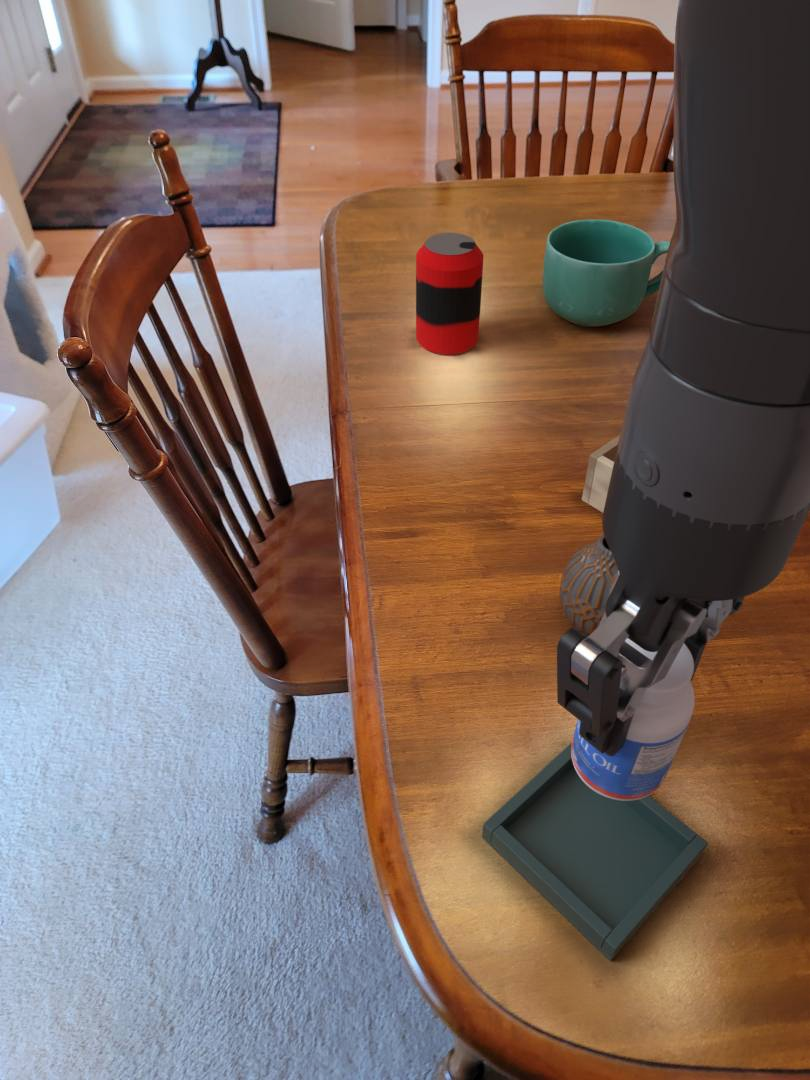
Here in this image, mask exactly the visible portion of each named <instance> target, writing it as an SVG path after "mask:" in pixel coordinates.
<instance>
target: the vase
mask: <svg viewBox="0 0 810 1080" xmlns="http://www.w3.org/2000/svg"><path fill="white" fill-rule="evenodd" d="M618 572H619V570H618V567H617V564H616V562H615V559H614V557H613V555H612V553H611V551H610V549H609V546H608V544H607V542H606V539H605V536H604V533H603V534H601V535H600V536H599V537H598V539H596V540H594V541H592V542H590V543H587V544H584V545H583V546H582V547H580V548H579V549H578V550H577V551H576V552H574V554H573V555H572V556H571V558H569V560H568V561H567V563H566V565H565V567H564V569H563V572H562V574H561V578H560V583H559V599H560V605H561V608H562V611H563V613H564V615H565V617H566V618H567V620H568V622H569V623H570V624H572V626H573V627H575V628H577V629H578V630H579V631H581V632H582V633H583V634H585V635H587V636H589V635H590V634H591V633H592V632H593V631H594V630H595V629H596V628H597V627H598V625H599V623H600V621H601V619H602V617H603V615H604V613H605V607H606V602H607V600H608V597H609V595H610V588H611V586H612V584H613V582H614V580H615V578H616V576H617V574H618Z"/></svg>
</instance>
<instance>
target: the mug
mask: <svg viewBox="0 0 810 1080" xmlns="http://www.w3.org/2000/svg"><path fill="white" fill-rule="evenodd" d="M670 241H671V240H660V241H658V242H655V240H654V239H653V237H652V236H651V235H650V234H648V232H646V231H644V230H643V229H641V228H638V227H637V226H634V225H631V224H628V223H624V222H620V221H616V220H610V219H597V218H596V219H595V218H594V219H593V218H591V219H578V220H573V221H569V222H564V223H563V224H560V225H558V226H556V227H555V228H553V229H552V230H551V231H550V232H549V233H548V235H547V238H546V243H545V251H544V260H543V270H542V292H543V296H544V299H545V302H546V303H547V305H548V306H549V308H550V309H551V310H552V311H553V312H554V313H555V314H557V315H558V316H559V317H561V318H563V319H564V320H567V321H568V322H570V323H572V324H574V325H577V326H579V327H580V326H581V327H587V328H588V327H589V328H597V327H598V328H599V327H604V326H608V325H611V324H615V323H619V322H622V321H623V320H625V319H627V318H629V317H630V316H632V315H633V314H634V313H635V312H636V311H637V310H638V309H639V307H640V306H641V304H642V302H643V300H644V299H645V298H647V297H649V296H652V295H653V294H656V293H658V292H659V287H660V283H661V278H662V274H663V270H661V271H660V272H659V273H658V274H657V275H655V276H654V277H652V278H651V279H650V277H651V272H652V268H653V267H652V266H653V265H654V264H655V262H656V261H657V259H658V258H659V257H660V256H661V255H664V254H667V253H668V249H669V245H670Z"/></svg>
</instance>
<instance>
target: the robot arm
mask: <svg viewBox="0 0 810 1080" xmlns="http://www.w3.org/2000/svg"><path fill="white" fill-rule="evenodd" d="M677 5H678V6H677V13H676V21H675V29H674V31H675V34H674V49H673V119H672V120H673V129H672V130H673V137H672V138H673V139H672V141H673V142H672V145H673V146H672V147H673V149H672V157H673V158H672V169H673V185H674V195H675V196H674V197H675V216H676V217H675V219H676V220H675V224H674V229H673V232H672V235H671V238H670V240H669V241H670V245H669V249H668V253H666V257H665V261H664V266H663V268H662V271H663V274H662V278H661V283H660V287H659V290H658V291H657V297H656V300H655V305H654V310H653V313H652V314H653V315H652V320H651V324H650V328H649V333H648V336H647V341H646V344H645V347H644V349H643V352H642V355H641V357H640V359H639V363H638V365H637V367H636V369H635V373H634V375H633V377H632V381H631V385H630V389H629V393H628V396H627V402H626V405H625V410H624V414H623V419H622V424H621V428H620V433H619V435H620V437H619V442H618V446H617V451H616V456H615V460H614V465H613V470H612V475H611V479H610V484H609V488H608V493H607V498H606V502H605V507H604V512H603V513H602V518H601V522H602V523H601V524H602V533H603V534H604V536H605V539H606V542H607V544H608V546H609V549H610V551H611V553H612V555H613V557H614V559H615V562H616V564H617V567H618V570H619V572H618V574H617V576H616V578H615V580H614V582H613V584H612V586H611V588H610V595H609V597H608V600H607V602H606V607H605V613H604V615H603V617H602V619H601V621H600V623H599V625H598V627H597V628H596V629H595V630H594V631H593V632H592V633H591V634H590V635H587V634H585V633H583V632H581V631H580V630H578V629H577V628H576V627H575V626H572V627H570V628H568V629H567V630H566V631H565V632H564V633H562V635H561V636H560V638H559V640H558V643H557V646H556V685H557V686H556V691H557V692H556V693H557V695H556V697H557V699H556V701H557V704H558V705H559V706H561V707H562V708H563V709H565V710H566V711H567V712H568V713H570V714H571V715H572V716H573V717H575V718H576V719H577V720H578V719H579V720H580V721H581V724H580V731H579V734H580V736H581V737H582V738H583V739H585V740H586V741H587V742H588V743H590V744H591V745H592V746H593V747H595V748H596V749H597V750H598V751H600V752H601V753H602V754H603V753H606V754H607V755H609V756H614V755H615V754H616V753H617V752H618V751H619V750H620V749H621V748H622V747H623V746H624V743H625V740H626V737H627V734H628V730H629V727H630V724H631V721H632V718H633V715H634V713H635V711H636V709H635V708H636V707H637V705H638V703H639V701H640V699H641V697H642V696H643V694H644V692H645V690H646V688H650V687H651V686H653V685H655V684H656V683H658V682H660V681H661V680H663V679H664V678H665V677H666V675H667V673H668V671H669V669H670V668H671V666H672V664H673V662H674V660H675V658H676V657H677V655H678V653H679V651H680V649H681V647H682V646H683V644H685V645H686V646H687V648H688V649H689V651H690V652H691V655H692V657H693V661H694V671H693V675H692V678H691V681H690V682H691V683H692V681H693V679H694V677H695V674H696V671H697V669H698V666H699V663H700V661H701V659H702V657H703V654H704V651H705V648H706V646H707V643H708V642H711V641H712V639H714V638H716V637H717V636H718V635H719V634H720V631H721V627H722V623H723V622H724V621H725V620H726V619H727V617H729V616H733V615H734V614H735V613H736V612H738V611H740V610H741V608H742V606H743V605H744V604H743V602H744V599H746V598H745V597H747V596H751V595H753V594H755V593H758V592H760V591H762V590H763V589H765V588H766V587H768V586H769V585H770V584H771V583H772V582H774V581H775V580H776V579H777V578H778V577H779V575H780V574H781V572H782V571H783V569H784V568H785V565H786V564H787V562H788V559H789V557H790V554H791V552H792V550H793V547H794V546H795V543H796V541H797V539H798V536H799V535H800V532H801V530H802V528H803V525H804V523H805V521H806V518H807V516H808V514H809V513H810V0H678V3H677ZM627 638H628V639H630V640H631V641H633V642H634V643H635V644H637V645H638V646H640V647H641V648H643V649H644V650H646V651H649V652H657V653H656V655H655V657H654V659H653V660H651V659H649V658H648V657H646V656H645V655H643V654H642V653H641V652H639V651H638V650H636V649H635V648H633V647H632V646H631V645H629V644H628V643H626V642H625V640H626V639H627ZM624 674H625V675H626V676H627V677H628V679H629V684H628V686H627V688H626V690H625V691H624V690H622V689H621V688H620V682H621V677H622V676H623V675H624Z"/></svg>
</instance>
